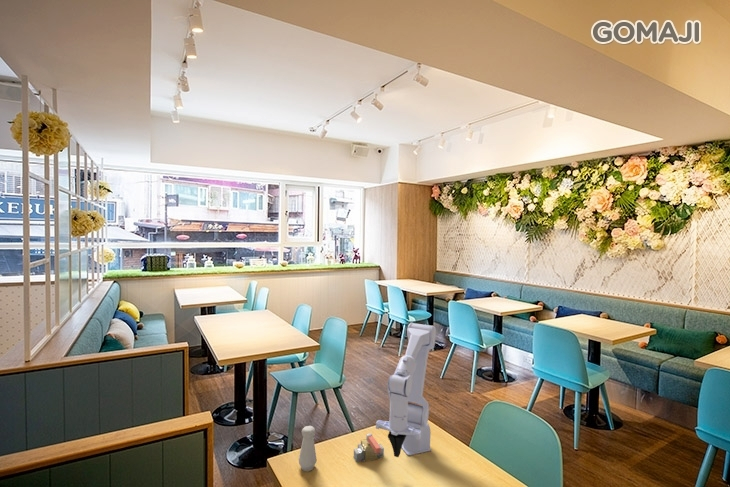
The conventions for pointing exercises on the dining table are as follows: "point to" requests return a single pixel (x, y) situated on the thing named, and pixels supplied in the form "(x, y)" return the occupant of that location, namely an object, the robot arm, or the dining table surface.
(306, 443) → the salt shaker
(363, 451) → the valve base
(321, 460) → the dining table surface
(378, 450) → the lever
